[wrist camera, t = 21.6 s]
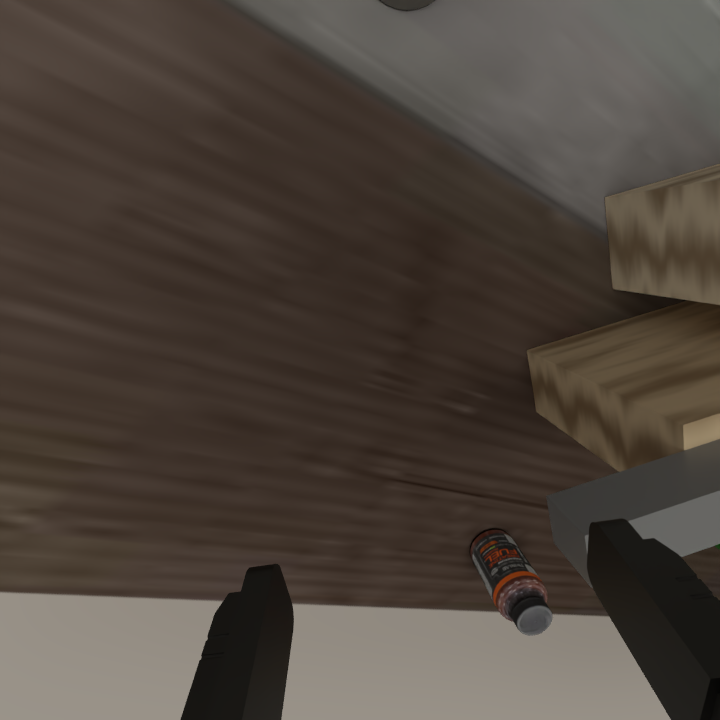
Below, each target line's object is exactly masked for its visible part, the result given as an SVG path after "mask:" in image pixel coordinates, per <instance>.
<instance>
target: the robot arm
mask: <svg viewBox="0 0 720 720" xmlns="http://www.w3.org/2000/svg"><path fill="white" fill-rule="evenodd" d="M381 1H382V2H383V3H385V4H386V5H389V6H391V7H394V8H396V9H402V10H414V9H419V8H422V7H424V6H427V5H429V4H430V3H432V2H433V1H434V0H381ZM587 571H588V576H589V579H590V582H591V585H592V587H593V589H594V591H595V593H596V595H597V596H598V598H599V600H600V601H601V603H602V605H603V607H604V608H605V610H606V612H607V613H608V615H609V617H610V618H611V620H612V622H613V623H614V625H615V627H616V628H617V630H618V631H619V633H620V635H621V637H622V638H623V640H624V642H625V643H626V645H627V647H628V648H629V650H630V652H631V653H632V655H633V657H634V658H635V660H636V662H637V663H638V665H639V667H640V668H641V670H642V672H643V673H644V675H645V677H646V678H647V680H648V682H649V683H650V685H651V687H652V688H653V690H654V692H655V693H656V695H657V697H658V698H659V700H660V702H661V704H662V705H663V707H664V708H665V710H666V712H667V714H668V715H669V717H670V718H671V720H720V601H719V600H718V599H717V597H714V596H713V595H712V592H711V591H710V590H709V588H708V587H707V586H706V585H705V584H704V583H703V582H702V580H701V579H698V578H697V575H696V574H695V573H694V571H693V570H692V569H691V568H690V567H689V566H688V565H687V564H686V562H685V561H684V560H683V559H682V558H681V557H680V556H679V555H678V554H677V553H676V552H674V551H673V550H671V549H670V548H668V547H667V546H665V545H664V544H662V543H661V542H659V541H658V540H656V539H655V538H650V539H642V537H641V536H640V535H639V534H638V532H637V531H636V530H635V529H634V528H633V526H632V525H631V524H630V523H629V522H628V521H627V520H625V519H623V518H620V519H613V520H605V521H598V522H592V523H591V524H590V526H589V537H588V553H587ZM293 617H294V616H293V606H292V602H291V599H290V596H289V593H288V590H287V586H286V583H285V580H284V577H283V574H282V571H281V568H280V566H279V565H278V564H272V565H265V566H257V567H250V568H249V569H248V570H247V572H246V575H245V579H244V582H243V586H242V590H241V592H234V593H229V594H228V595H227V597H226V598H225V600H224V601H223V602H222V604H221V606H220V607H219V608H218V610H217V611H216V613H215V615H214V618H213V621H212V624H211V627H210V630H209V633H208V640H207V641H206V643H205V646H204V649H203V652H202V658H201V660H200V661H199V664H198V667H197V671H196V673H195V677H194V680H193V683H192V686H191V689H190V692H189V695H188V698H187V701H186V705H185V708H184V711H183V714H182V717H181V720H281V717H282V709H283V702H284V694H285V687H286V679H287V671H288V665H289V657H290V649H291V642H292V634H293V623H294V618H293Z"/></svg>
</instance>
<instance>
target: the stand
mask: <svg viewBox="0 0 720 720" xmlns="http://www.w3.org/2000/svg"><path fill="white" fill-rule="evenodd" d="M605 208H606V219H607V231H608V242H609V253H610V265H611V276H612V287H613V289H616V290H622V291H629V292H636V293H643V294H649V295H656V296H663V297H669V298H676V299H683V300H687V301H683V302H680V303H677V304H674V305H671V306H667V307H664V308H661V309H658V310H654V311H651V312H648V313H645V314H642V315H638V316H635V317H632V318H629V319H625V320H622V321H619V322H616V323H613V324H609V325H606V326H603V327H600V328H596V329H593V330H590V331H587V332H583V333H580V334H577V335H574V336H571V337H567V338H564V339H561V340H558V341H554V342H551V343H548V344H545V345H542V346H538V347H535V348H532V349H529V350H527V356H528V362H529V369H530V375H531V381H532V388H533V394H534V400H535V407H536V412H537V413H539V414H540V415H541V416H543V417H544V418H546V419H547V420H548V421H550V422H551V423H552V424H554V425H555V426H557V427H558V428H559V429H561V430H562V431H564V432H565V433H566V434H568V435H569V436H570V437H572V438H573V439H575V440H576V441H577V442H579V443H580V444H581V445H583V446H584V447H586V448H587V449H588V450H590V451H591V452H593V453H594V454H595V455H597V456H598V457H599V458H601V459H602V460H604V461H605V462H606V463H608V464H609V465H610V466H612V467H613V468H615V469H616V470H617V471H619V472H621V471H624V470H627V469H630V468H633V467H636V466H639V465H642V464H645V463H648V462H651V461H654V460H657V459H660V458H663V457H666V456H669V455H672V454H675V453H678V452H681V451H684V450H688V449H691V448H694V447H697V446H700V445H703V444H706V443H709V442H712V441H715V440H718V439H720V164H717V165H713V166H710V167H706V168H703V169H700V170H696V171H693V172H689V173H686V174H683V175H679V176H676V177H672V178H669V179H666V180H662V181H659V182H655V183H652V184H649V185H645V186H642V187H638V188H635V189H631V190H628V191H625V192H621V193H618V194H614V195H611V196H608V197H605Z"/></svg>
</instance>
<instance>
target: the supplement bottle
mask: <svg viewBox="0 0 720 720" xmlns="http://www.w3.org/2000/svg"><path fill="white" fill-rule="evenodd" d="M470 554H471V558H472V560H473V563H474V565H475V567H476V568H477V570H478V572H479V574H480V576H481V578H482V580H483V582H484V584H485V586H486V588H487V590H488V592H489V594H490V595H491V597H492V599H493V601H494V603H495V605H496V607H497V609H498V611H499V612H500V613H501V615H502V616H503V617H505V618H506V619H508V620H510V621H513V622H514V623H515V624H516V626H517V628H518V630H519V631H520V632H521V633H523V634H525V635H537V634H540V633H542V632H543V631H545V630H546V629H547V628H548V627H549V625H550V624H551V622H552V612H551V610H550V609H549V607H548V606H547V604H546V603H547V591H546V588H545V586H544V584H543V583H542V581H541V580H540V578H539V577H538V575H537V574H536V572H535V571H534V569H533V568H532V566H531V565H530V563H529V562H528V561H527V559H526V558H525V556H524V555H523V553H522V552H521V550H520V549H519V547H518V546H517V544H516V543H515V542H514V540H513V539H512V538H511V536H510V535H509V534H507V533H506V532H504V531H501V530H489V531H486V532H484V533H482V534H480V535H479V536H478V537H477V538H476V539H475V540H474V542H473V543H472V546H471V551H470Z"/></svg>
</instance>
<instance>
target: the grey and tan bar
mask: <svg viewBox="0 0 720 720" xmlns="http://www.w3.org/2000/svg"><path fill="white" fill-rule="evenodd" d="M546 497H547V503H548V509H549V515H550V521H551V528H552V534H553V540H554V543H555V545H556V546H557V547H558V548H559V549H560V551H561V552H562V553H563V554H564V555H565V557H566V558H567V559H568V560H569V561H570V563H571V564H572V565H573V566H574V567H575V568H576V570H577V571H578V572H579V573H580V574H581V576H582V577H583V578H584V579H585V580H586V582H587V583H588V584H589V585H590V586H591V588H592V585H591V582H590V579H589V576H588V571H587V553H588V537H589V526H590V524H591V523H592V522H598V521H605V520H613V519H620V518H623V519H625V520H627V521H628V522H629V523H630V524H631V525H632V526H633V528H634V529H635V530H636V531H637V532H638V534H639V535H640V536H641V537H642V539H650V538H655V539H656V540H658V541H659V542H661V543H662V544H664V545H665V546H667V547H668V548H670V549H671V550H673V551H674V552H676V553H677V554H678V555H679V556H680V557H683V556H686V555H689V554H692V553H694V552H697V551H700V550H703V549H706V548H709V547H712V546H715V545H718V544H720V439H718V440H715V441H712V442H709V443H706V444H703V445H700V446H697V447H694V448H691V449H688V450H684V451H681V452H678V453H675V454H672V455H669V456H666V457H663V458H660V459H657V460H654V461H651V462H648V463H645V464H642V465H639V466H636V467H633V468H630V469H627V470H624V471H621V472H618V473H615V474H612V475H609V476H606V477H603V478H599V479H596V480H593V481H590V482H587V483H584V484H581V485H578V486H575V487H572V488H569V489H566V490H563V491H560V492H557V493H554V494H551V495H548V496H546Z"/></svg>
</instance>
